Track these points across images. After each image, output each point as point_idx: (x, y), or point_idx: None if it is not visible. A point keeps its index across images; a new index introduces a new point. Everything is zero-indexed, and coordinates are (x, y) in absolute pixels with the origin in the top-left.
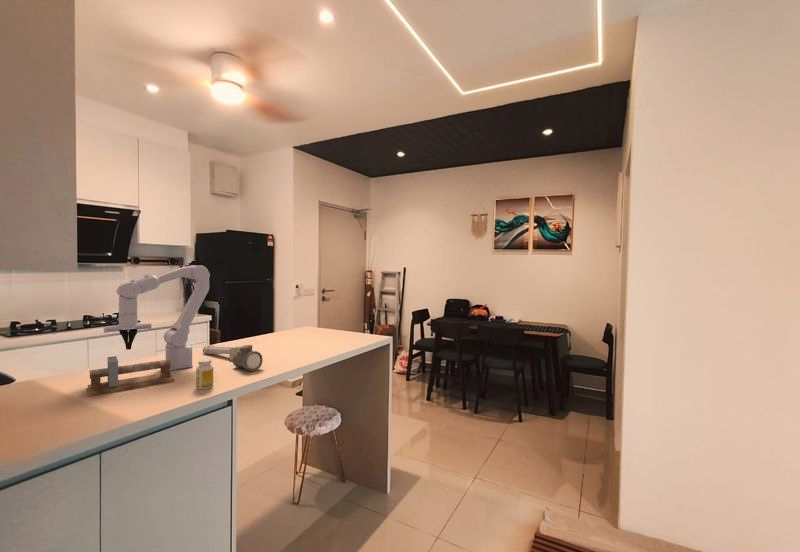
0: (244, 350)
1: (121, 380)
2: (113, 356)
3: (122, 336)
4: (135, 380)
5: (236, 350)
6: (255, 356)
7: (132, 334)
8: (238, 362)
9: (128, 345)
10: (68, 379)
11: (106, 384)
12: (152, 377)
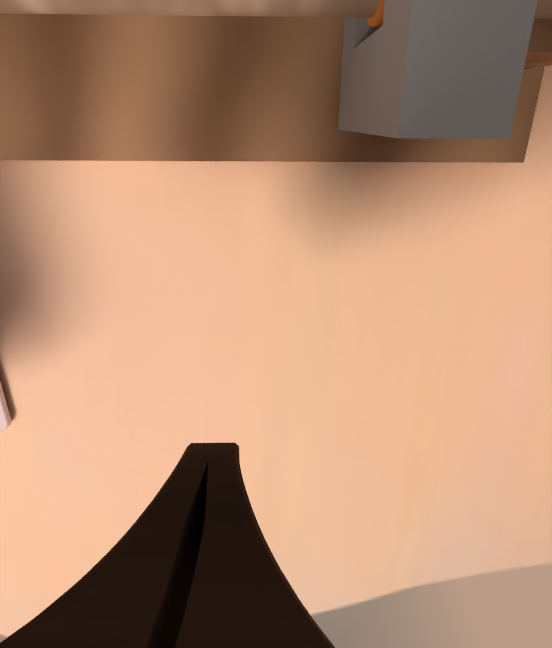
0: None
1: (299, 126)
2: (433, 136)
3: (300, 608)
4: (196, 31)
5: None
6: None
7: (90, 635)
8: None
9: (209, 475)
10: (539, 457)
11: None
12: (54, 41)
